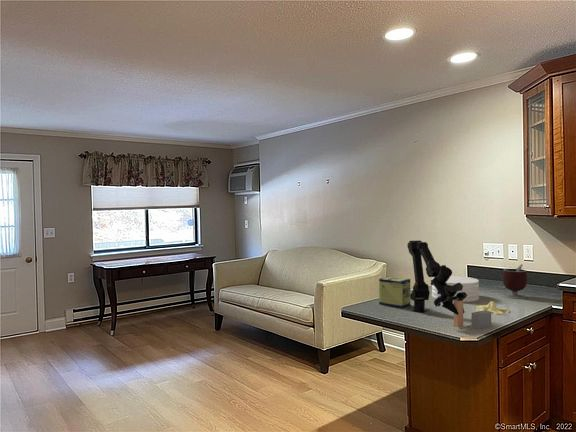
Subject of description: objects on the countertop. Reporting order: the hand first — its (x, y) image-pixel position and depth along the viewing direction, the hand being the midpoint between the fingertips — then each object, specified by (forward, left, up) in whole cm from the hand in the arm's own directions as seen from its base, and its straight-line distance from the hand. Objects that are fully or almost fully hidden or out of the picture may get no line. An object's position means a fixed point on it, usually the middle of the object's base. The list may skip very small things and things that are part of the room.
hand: (460, 313), depth 211 cm
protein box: (-29, -44, -7) cm, 53 cm away
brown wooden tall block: (-1, -1, -6) cm, 6 cm away
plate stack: (-70, -20, -7) cm, 73 cm away
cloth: (-42, +6, -7) cm, 43 cm away
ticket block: (-3, +6, -7) cm, 9 cm away
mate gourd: (-91, +12, -7) cm, 92 cm away
